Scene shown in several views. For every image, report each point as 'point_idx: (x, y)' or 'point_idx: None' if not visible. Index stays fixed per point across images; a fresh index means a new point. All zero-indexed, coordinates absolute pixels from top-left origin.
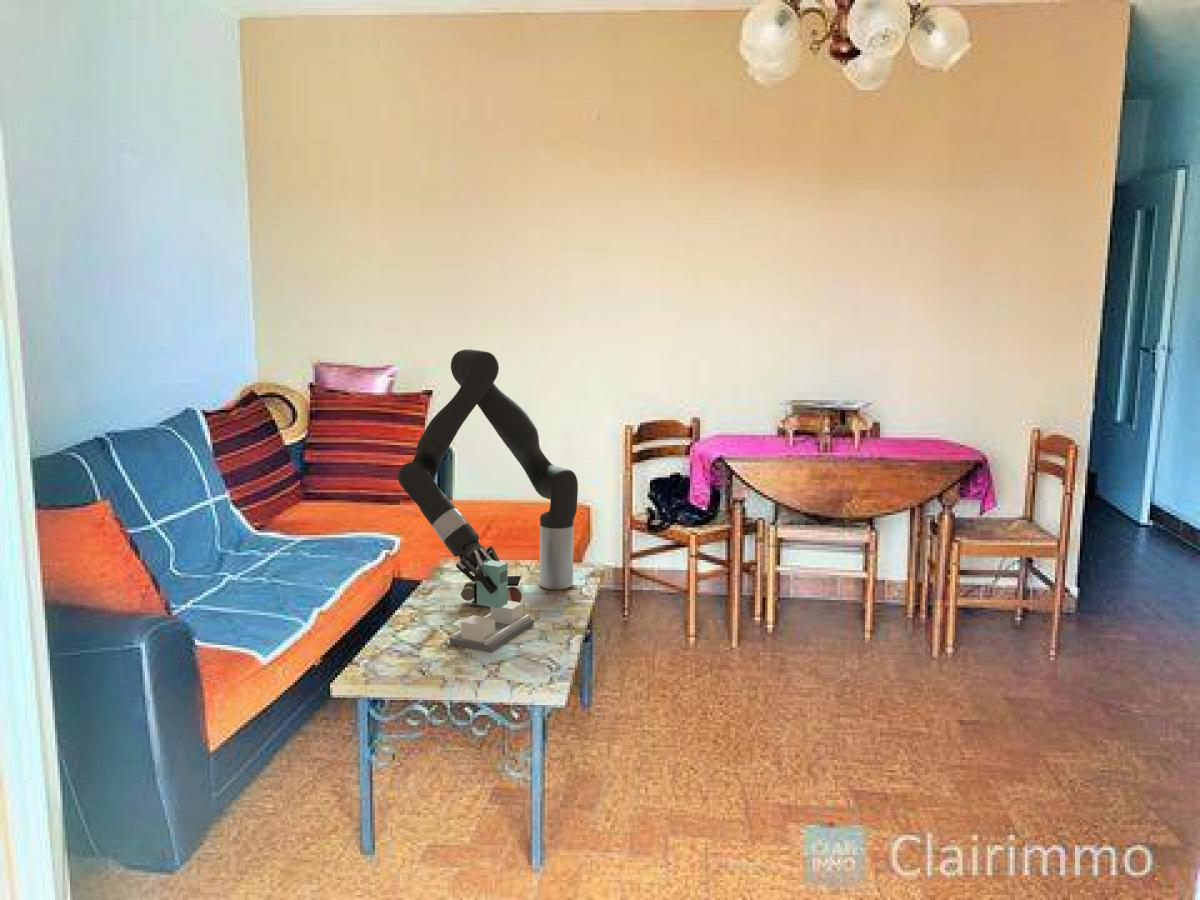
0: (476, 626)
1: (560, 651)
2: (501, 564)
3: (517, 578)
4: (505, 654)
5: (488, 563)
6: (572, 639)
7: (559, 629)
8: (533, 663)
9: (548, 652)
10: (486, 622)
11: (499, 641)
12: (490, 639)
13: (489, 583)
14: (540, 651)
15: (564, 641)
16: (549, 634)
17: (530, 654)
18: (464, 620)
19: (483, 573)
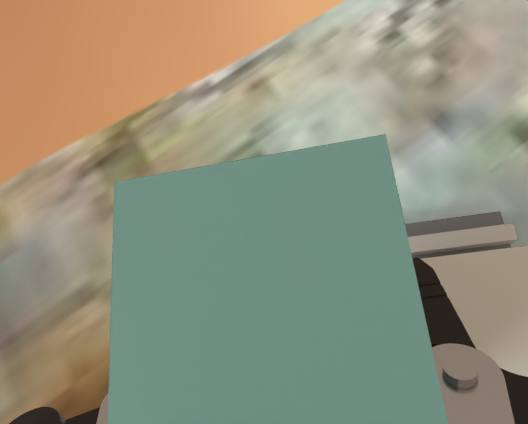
0: None
1: (317, 46)
2: (251, 187)
3: None
4: (464, 162)
5: None
6: (207, 80)
7: (148, 164)
8: (461, 43)
9: (348, 67)
10: (476, 265)
11: (422, 222)
12: (482, 227)
13: (425, 300)
14: (357, 90)
15: (235, 88)
16: (205, 161)
17: (402, 97)
18: None
19: (497, 389)
